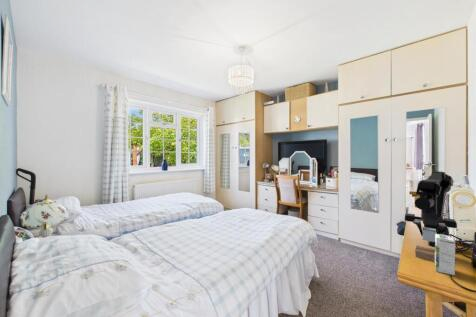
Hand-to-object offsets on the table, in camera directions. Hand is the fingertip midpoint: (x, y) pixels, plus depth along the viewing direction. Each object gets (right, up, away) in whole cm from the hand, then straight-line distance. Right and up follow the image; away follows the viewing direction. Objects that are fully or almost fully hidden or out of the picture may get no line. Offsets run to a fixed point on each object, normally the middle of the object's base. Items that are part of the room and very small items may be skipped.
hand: (429, 237), depth 103 cm
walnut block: (-5, -8, -4) cm, 10 cm away
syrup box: (-8, -9, -15) cm, 19 cm away
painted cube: (0, -1, 0) cm, 1 cm away
